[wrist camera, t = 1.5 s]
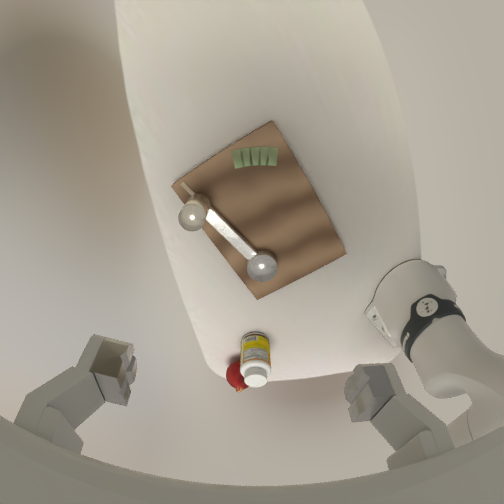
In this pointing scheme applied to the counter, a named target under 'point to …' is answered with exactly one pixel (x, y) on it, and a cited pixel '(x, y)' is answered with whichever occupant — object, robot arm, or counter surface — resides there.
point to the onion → (235, 377)
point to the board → (265, 208)
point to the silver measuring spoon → (227, 236)
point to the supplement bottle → (255, 359)
